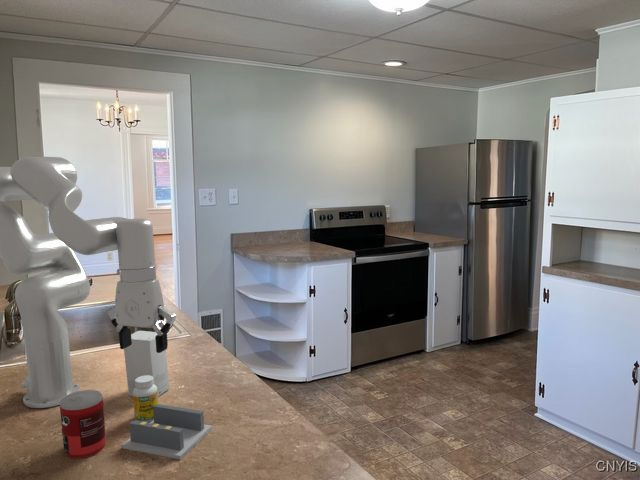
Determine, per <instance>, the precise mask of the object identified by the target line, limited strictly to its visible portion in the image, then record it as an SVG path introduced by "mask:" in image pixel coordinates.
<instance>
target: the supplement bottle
mask: <svg viewBox="0 0 640 480" xmlns="http://www.w3.org/2000/svg"><path fill="white" fill-rule="evenodd" d="M153 383H154V379H153V376H150V375H145V376H140V377H138V378H136V379H135V386H136V387H135V388H134V390H133V396H132V398H133V399H132V402H133V413H134V421H139V422H147V423H150V422H151V421H153V420H154V415H153V406H154V405H155V404H159V397H158V391H157V386H156V385H154V384H153Z"/></svg>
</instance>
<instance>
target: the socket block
mask: <svg viewBox="0 0 640 480" xmlns="http://www.w3.org/2000/svg"><path fill="white" fill-rule="evenodd" d="M153 415H154V420H153V421H151V422H149V423H147V422H139V421H136V420H132V421H130V422H129V424H128V425H129V434H130V435H129V436H130V437H129V438H128V439H127V440H126V441H124V442H123V443H122V444H121V449H124V450H130V451H134V452H138V453H139V452H140V453H145V454H150V455H155V456H160V457H166V458H170V459H174V460H180V461H181V460H182V459H183V458H184V457H185V456H186V455H187V454H188V453H189V452H190V451H191V450H192V449H193V448H194V447H196V445H197V444H199V442H201V440H203V439H204V438H205V436H207V434H209V432H211V431H212V430H213V425H211V424H210V425H209V424H205V419H204V417H205V416H204V411H203V410H197V409H191V408H185V407H180V406H179V407H178V406H173V405H168V404H167V405H166V404H160V403H158V404H155V405H154V406H153Z"/></svg>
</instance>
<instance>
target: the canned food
mask: <svg viewBox="0 0 640 480" xmlns="http://www.w3.org/2000/svg"><path fill="white" fill-rule="evenodd" d="M104 410H105V408H104V397H103V394H102V392H100V391H98V390H94V389H91V390H90V389H88V390H87V389H85V390H80V391H78V392H74V393H71V394H69V395H67V396H65V397H64V398H62V399H61V401H60V405H59V411H60V412H59V413H60V422H61V433H62V443H63V451H64V453H65V455H66V456H67V457H69V458H72V459H82V458H87V457H88V458H89V457H91V456H94V455H96V454H98V453H100V452H101V451H102V450H103V449H104V448H105V445H106V443H107V442H106V441H107V436H106V422H105V411H104Z"/></svg>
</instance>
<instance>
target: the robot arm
mask: <svg viewBox="0 0 640 480" xmlns="http://www.w3.org/2000/svg"><path fill="white" fill-rule="evenodd" d="M77 180H78V173H77V169H76V167H75V166H74V165H73V163H71V161H69V160H68V159H65V157H60V156H33V155H32V156H25V157H21V158H20V159H18V160H16V161H15V162H14V163H13V164H12V166H0V259H1V260H2V263H3V264H4V266H5V267H6V269H7V270H8V272H10V273H11V274H12V275H15V276H23V275H25V276H26V275H31V274H35V273H39V272H45V271H49V272H46V273H41V274H36V275H33V276H29V277H27V278H25V279H24V280H22V281H21V282H19V284H18V285H17V287H16V288H15V292H14V299H15V302H16V306H17V309H18V312H19V315H20V319H21V323H22V329H23V331H22V332H23V337H24V338H23V339H24V345H25V347H24V349H25V356H26V369H27V376H26V377H25V378H24V381H22V382H21V383H20V387H21V388H24V389H26V392H27V393H26V394H24V396H23V398H22V401H23V405H24V406H25V407H27V408H30V409H31V408H32V409H47V408H51V407H52V408H53V407H56V406H60V401H61V399H62V398H64V397H65V396H67V395H69V394H71V393H74V392H78V391H81V389H80V385H79V384H77V383H74V382H73V376H72V375H73V373H72V363H71V362H72V361H71V351H70V342H69V341H70V340H69V329H68V324H67V322H66V320H65V319H64V318H63V317H62V316H61V315H60V314H59V312H58V311H59V310H61V309H63V308H67V307H70V306H73V305H76V304H80V303H82V302H83V301H85V300H86V299H87V298H88V297H89V295H90V292H91V283H90V279H89V277H88V275H87V273H86V270H85V269H84V267H83V265H82V263H81V261H80V260H79V258H78V255H76V253H77V254H79V255H83V256H94V255H97V254H102V253H108V252H113V251H114V252H115V251H117V257H118V259H117V260H118V268H117V270H116V275H119V280H118V281H117V282H116V289H115V296H114V297H115V298H114V299H115V300H114V302H115V303H114V305H115V307H113V308H112V309H110V310H108V311H107V315H108V317H109V319H110V320H111V324H112V325H113V326H114V328H115V331H116V333H118V339H119V348H120V350H124V348H126V347H128V346H130V345H132V340H131V334H132V331H131V327H133V328H142V329H150V328H152V329H153V330H154V332H156V333H157V334H158V335H156V336H155V340H156V352H157V353H161V352H162V351H164V350H166V351H167V350H168V345H169V344H168V342H169V341H168V332H170V329H171V328H173V327H174V324H175V323H174V322H175V320H176V318H177V315H176V314H175V313H173V312H172V311H171V310H168V309H167V308H166V307H165V303H164V297H163V296H164V295H163V291H162V287H161V284H160V281H159V279H157V270H156V268H157V267H156V257H155V255H156V254H155V241H154V239H155V238H154V229H153V228H154V227H153V223H152V221H150V219H147V218H127V217H120V216H113V217H112V216H111V217H102V218H94V219H93V218H92V219H84V218H82V217H80V216H79V215H78V214H76V213H75V211H76V210H77V209H78V207H79V206H80V204H81V203H82V200H83V191H82V190H81V188H80V187H79V186H78V185H77ZM27 200H28V201H30V200H31V201H32V200H34V201H36V203H38V204H39V205H41V207H43V208H44V209H45V210H47V211H48V215H47V216H48V217H47V218H48V224H49V225H50V228H51V231H52V232H47V233H46V232H45V233H39V234H38V233H37V234H36V233H35V232H33V230H31V228H30V227H29V225H28V223H27V221H26V219H25V218H24V217H23V215H21V214H20V213H19V212H18V211H17V210H16V209H14V208H13V207H11V206H9V205H8V204H7V203H6V202H14V201H16V202H17V201H27ZM165 319H166V321H165Z"/></svg>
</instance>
